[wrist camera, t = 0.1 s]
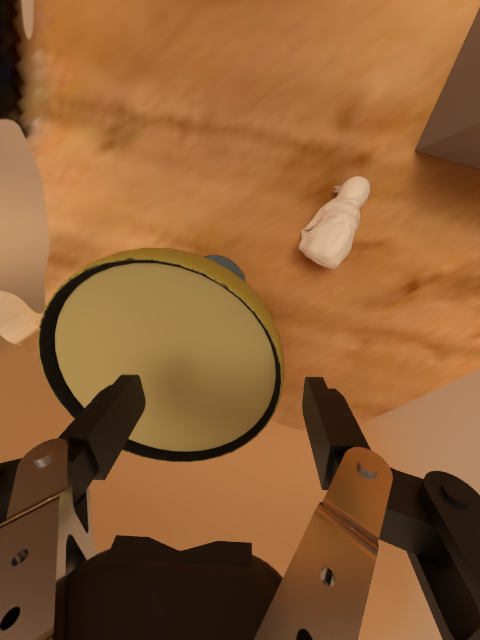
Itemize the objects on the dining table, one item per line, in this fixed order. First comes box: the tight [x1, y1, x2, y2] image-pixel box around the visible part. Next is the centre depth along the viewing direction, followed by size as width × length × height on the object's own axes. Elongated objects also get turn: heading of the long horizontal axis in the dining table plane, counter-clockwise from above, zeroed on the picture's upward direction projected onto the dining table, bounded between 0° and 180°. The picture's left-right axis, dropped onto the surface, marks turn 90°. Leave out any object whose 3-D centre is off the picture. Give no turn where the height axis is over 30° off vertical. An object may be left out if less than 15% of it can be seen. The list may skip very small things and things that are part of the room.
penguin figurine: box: [299, 176, 370, 269], centre depth 31 cm, size 6×8×12 cm
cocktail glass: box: [38, 248, 284, 462], centre depth 28 cm, size 18×18×25 cm
